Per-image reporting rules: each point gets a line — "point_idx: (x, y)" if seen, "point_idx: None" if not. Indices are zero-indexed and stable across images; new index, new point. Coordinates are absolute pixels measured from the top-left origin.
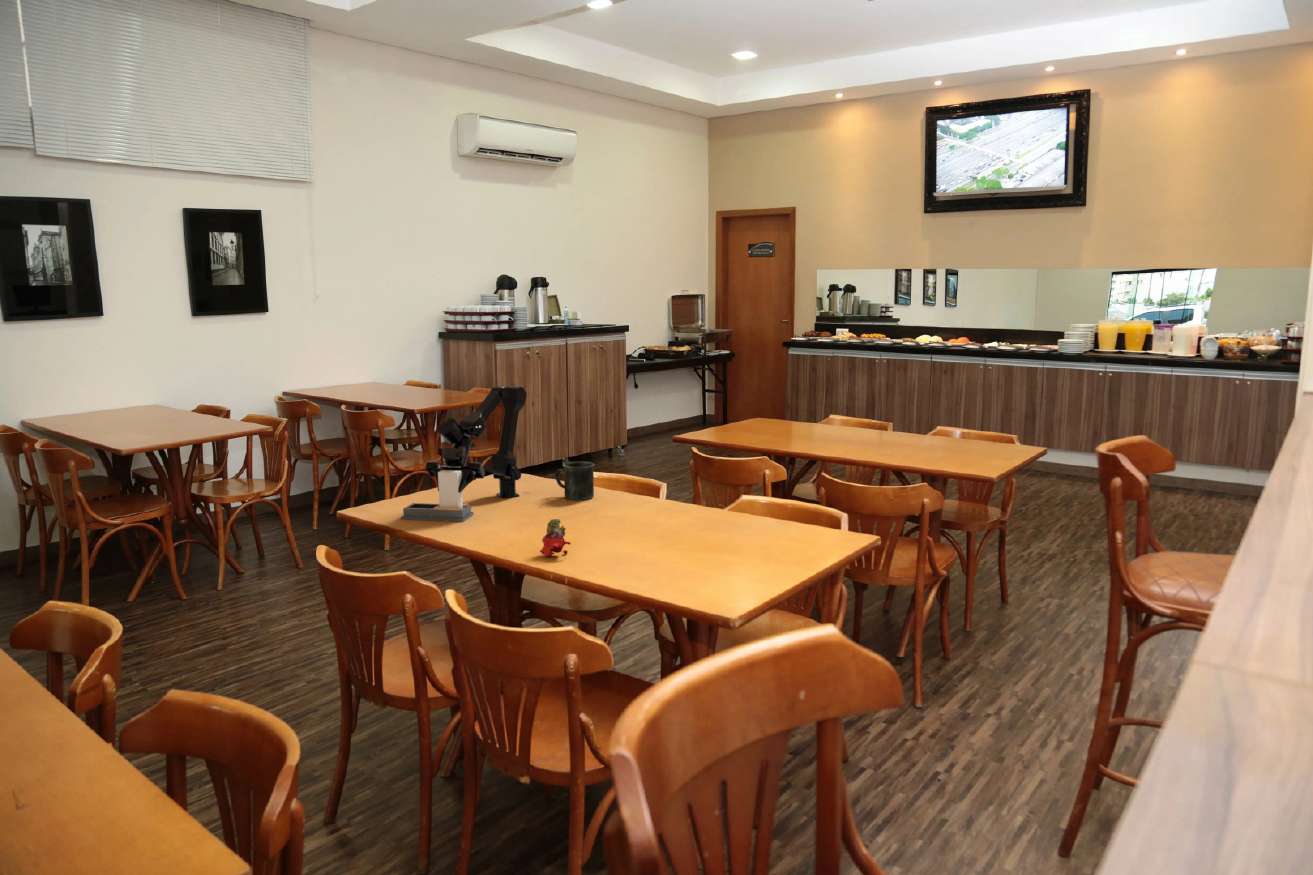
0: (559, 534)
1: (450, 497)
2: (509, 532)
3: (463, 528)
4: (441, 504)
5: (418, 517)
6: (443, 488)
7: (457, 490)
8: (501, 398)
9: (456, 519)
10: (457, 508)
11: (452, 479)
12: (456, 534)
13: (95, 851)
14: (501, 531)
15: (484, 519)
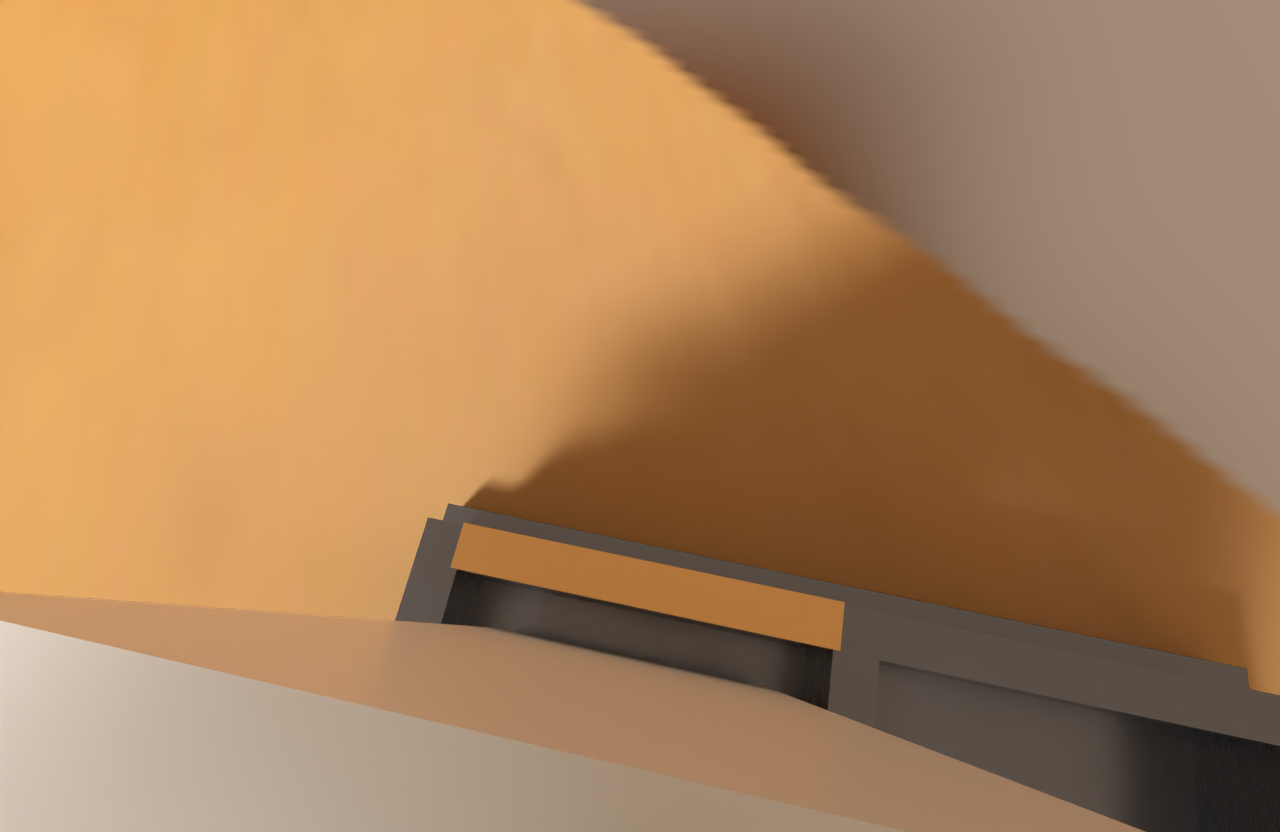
0: None
1: (591, 658)
2: (50, 133)
3: (441, 267)
4: (757, 689)
5: (1004, 620)
6: (761, 709)
7: (390, 621)
8: None
9: (531, 523)
10: (491, 544)
11: (407, 659)
12: (486, 106)
13: None
14: (111, 162)
15: (222, 605)
